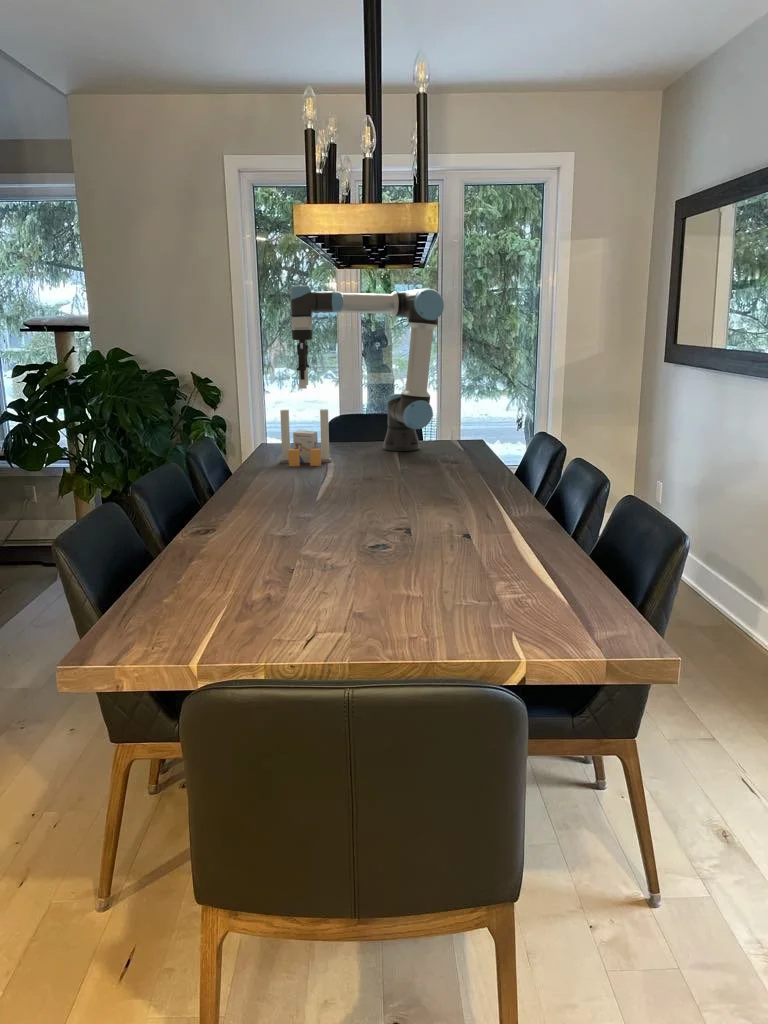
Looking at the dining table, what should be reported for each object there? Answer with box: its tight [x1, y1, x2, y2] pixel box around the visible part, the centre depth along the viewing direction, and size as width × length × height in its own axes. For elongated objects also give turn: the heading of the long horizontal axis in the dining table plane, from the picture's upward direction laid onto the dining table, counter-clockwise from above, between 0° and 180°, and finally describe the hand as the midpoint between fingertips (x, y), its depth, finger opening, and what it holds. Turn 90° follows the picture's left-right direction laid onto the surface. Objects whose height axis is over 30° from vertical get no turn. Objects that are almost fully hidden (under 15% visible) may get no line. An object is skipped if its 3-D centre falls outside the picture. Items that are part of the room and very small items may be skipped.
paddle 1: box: [288, 448, 301, 467], centre depth 289 cm, size 4×3×6 cm
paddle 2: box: [309, 448, 322, 467], centre depth 289 cm, size 4×3×6 cm
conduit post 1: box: [279, 409, 291, 464], centre depth 293 cm, size 4×4×20 cm
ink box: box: [292, 429, 319, 464], centre depth 295 cm, size 9×5×12 cm, turn 73°
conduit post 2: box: [319, 408, 332, 463], centre depth 294 cm, size 4×4×20 cm
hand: (303, 386), depth 289 cm, fingers open, 13 cm apart
